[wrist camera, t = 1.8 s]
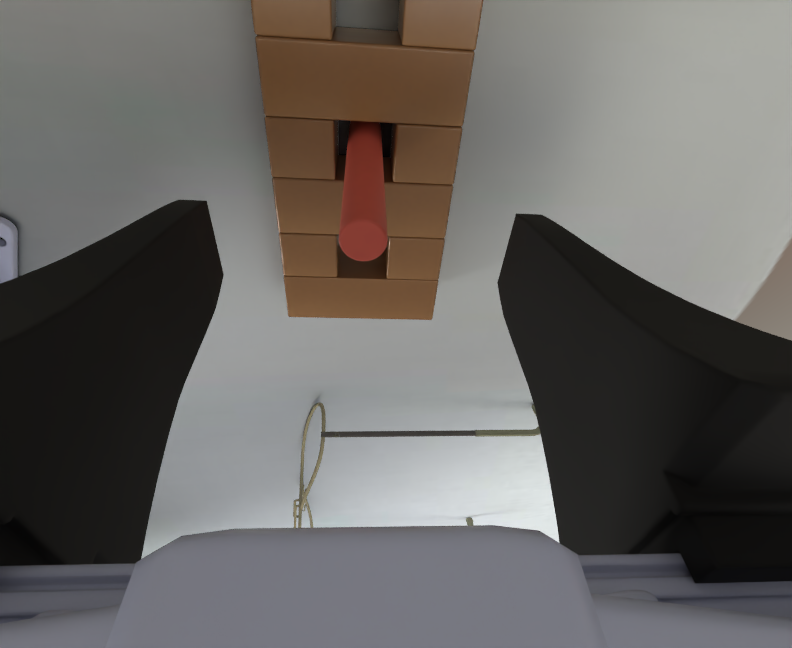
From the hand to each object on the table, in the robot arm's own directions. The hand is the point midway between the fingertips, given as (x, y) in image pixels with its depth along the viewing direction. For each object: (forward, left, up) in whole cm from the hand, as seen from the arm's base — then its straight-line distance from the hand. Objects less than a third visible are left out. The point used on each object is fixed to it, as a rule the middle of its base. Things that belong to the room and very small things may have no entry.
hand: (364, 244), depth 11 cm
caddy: (0, 0, -8) cm, 8 cm away
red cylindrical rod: (0, 0, -8) cm, 8 cm away
